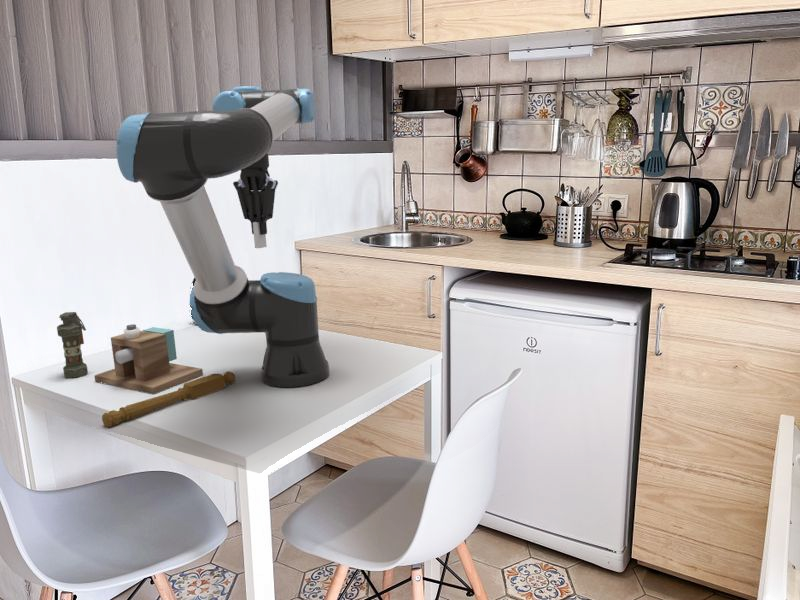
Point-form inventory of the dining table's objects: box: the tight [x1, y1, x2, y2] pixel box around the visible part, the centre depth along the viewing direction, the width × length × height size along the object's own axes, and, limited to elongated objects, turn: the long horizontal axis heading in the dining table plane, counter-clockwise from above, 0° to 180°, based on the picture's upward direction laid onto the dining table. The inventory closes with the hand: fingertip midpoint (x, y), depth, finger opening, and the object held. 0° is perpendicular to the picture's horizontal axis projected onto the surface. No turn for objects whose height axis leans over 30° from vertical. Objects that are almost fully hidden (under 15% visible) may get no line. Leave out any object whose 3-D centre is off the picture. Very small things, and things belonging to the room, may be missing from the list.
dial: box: [123, 323, 141, 340], centre depth 150 cm, size 3×3×3 cm
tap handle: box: [101, 371, 236, 428], centre depth 139 cm, size 3×3×30 cm
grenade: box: [56, 311, 88, 379], centre depth 159 cm, size 6×6×15 cm
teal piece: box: [115, 326, 178, 364], centre depth 153 cm, size 7×12×7 cm, turn 149°
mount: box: [94, 330, 204, 395], centre depth 154 cm, size 20×14×10 cm
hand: (260, 247), depth 171 cm, fingers closed
